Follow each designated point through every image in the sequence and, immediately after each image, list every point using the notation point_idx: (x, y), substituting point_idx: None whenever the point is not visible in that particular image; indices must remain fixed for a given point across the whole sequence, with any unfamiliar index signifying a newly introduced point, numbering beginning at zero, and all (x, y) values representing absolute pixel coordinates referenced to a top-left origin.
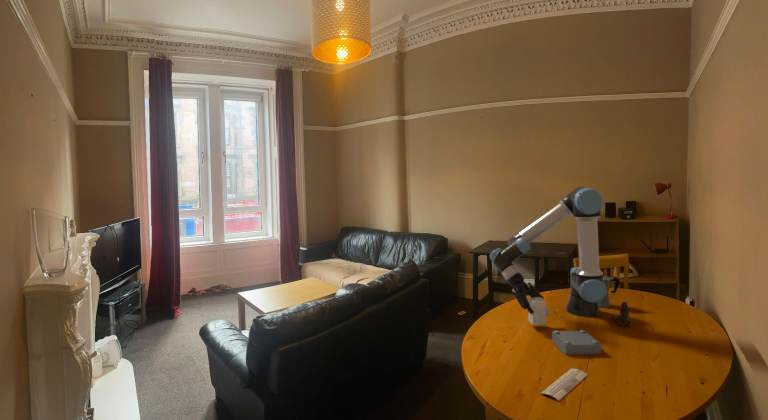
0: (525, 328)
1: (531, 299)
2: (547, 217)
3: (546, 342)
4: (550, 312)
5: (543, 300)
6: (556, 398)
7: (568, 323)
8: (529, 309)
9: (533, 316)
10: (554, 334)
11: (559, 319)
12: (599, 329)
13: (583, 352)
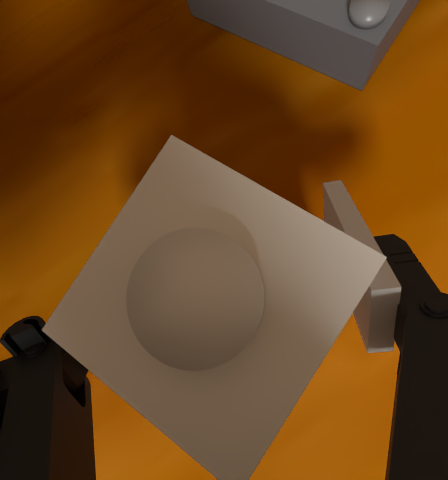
0: (347, 333)
1: (272, 381)
2: None
3: (423, 85)
4: None
5: (152, 194)
6: None
7: (40, 217)
8: (424, 276)
9: None
10: (401, 10)
11: (17, 295)
12: (6, 73)
13: None
